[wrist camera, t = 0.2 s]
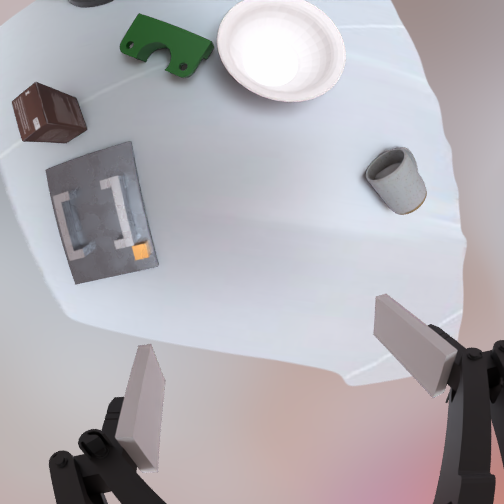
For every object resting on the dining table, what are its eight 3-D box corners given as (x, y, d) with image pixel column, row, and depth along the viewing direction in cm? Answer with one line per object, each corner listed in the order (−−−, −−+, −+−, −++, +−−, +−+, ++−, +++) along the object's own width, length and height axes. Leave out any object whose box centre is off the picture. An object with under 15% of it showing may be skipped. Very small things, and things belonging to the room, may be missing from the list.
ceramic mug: (386, 214, 45) (414, 222, 38) (357, 179, 43) (385, 182, 36) (418, 171, 44) (448, 173, 37) (393, 135, 42) (422, 132, 35)
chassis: (48, 169, 35) (37, 170, 31) (131, 141, 36) (125, 139, 33) (77, 282, 40) (69, 290, 37) (158, 264, 42) (155, 272, 38)
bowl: (257, 134, 39) (270, 126, 31) (192, 51, 34) (190, 25, 26) (340, 83, 38) (368, 69, 30) (280, 6, 33) (296, -21, 25)
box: (53, 113, 32) (10, 100, 21) (77, 97, 33) (38, 78, 21) (64, 146, 34) (21, 142, 23) (88, 131, 35) (50, 120, 23)
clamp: (147, 62, 37) (109, 48, 28) (166, 31, 34) (130, 11, 26) (203, 88, 36) (167, 71, 27) (226, 52, 33) (194, 28, 25)
